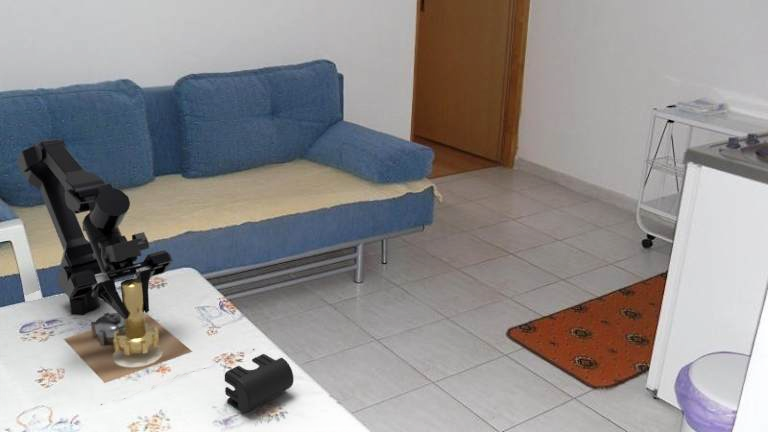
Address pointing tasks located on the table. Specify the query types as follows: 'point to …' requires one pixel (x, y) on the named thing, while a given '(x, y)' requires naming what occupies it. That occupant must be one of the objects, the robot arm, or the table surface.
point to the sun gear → (107, 328)
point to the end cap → (258, 382)
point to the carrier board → (116, 362)
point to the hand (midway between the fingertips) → (137, 315)
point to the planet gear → (134, 322)
